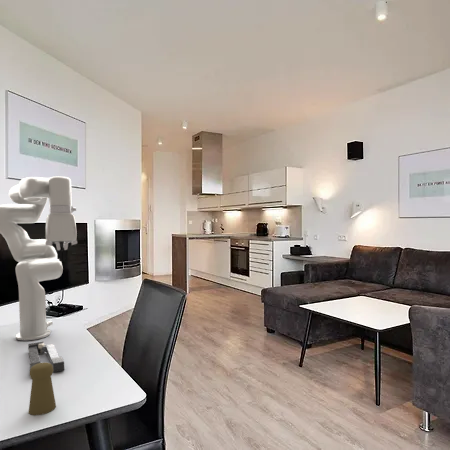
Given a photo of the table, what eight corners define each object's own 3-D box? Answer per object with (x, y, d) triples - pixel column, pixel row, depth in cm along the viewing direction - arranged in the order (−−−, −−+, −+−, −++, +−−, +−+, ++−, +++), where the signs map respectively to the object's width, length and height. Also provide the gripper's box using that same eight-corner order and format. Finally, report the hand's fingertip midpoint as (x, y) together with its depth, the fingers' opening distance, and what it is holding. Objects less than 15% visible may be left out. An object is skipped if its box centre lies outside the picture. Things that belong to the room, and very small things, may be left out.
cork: (44, 416, 86) (43, 369, 86) (22, 414, 87) (21, 368, 87) (61, 403, 92) (60, 360, 92) (40, 401, 93) (39, 359, 93)
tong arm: (38, 352, 128) (37, 343, 128) (54, 349, 131) (54, 340, 131) (44, 374, 110) (44, 363, 109) (64, 370, 112) (63, 359, 112)
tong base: (26, 352, 129) (26, 344, 129) (43, 349, 132) (43, 341, 132) (30, 378, 108) (30, 368, 108) (51, 373, 110) (50, 364, 110)
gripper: (80, 211, 140) (81, 258, 140) (37, 211, 132) (38, 261, 132) (84, 210, 133) (85, 260, 133) (38, 210, 126) (40, 263, 126)
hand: (62, 260), depth 133 cm, fingers closed
